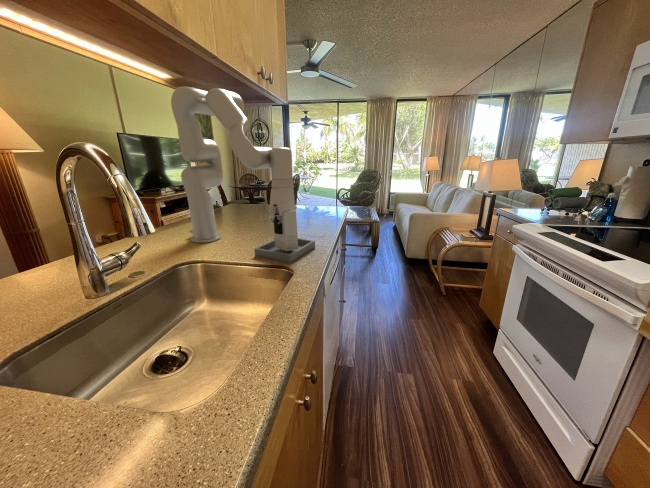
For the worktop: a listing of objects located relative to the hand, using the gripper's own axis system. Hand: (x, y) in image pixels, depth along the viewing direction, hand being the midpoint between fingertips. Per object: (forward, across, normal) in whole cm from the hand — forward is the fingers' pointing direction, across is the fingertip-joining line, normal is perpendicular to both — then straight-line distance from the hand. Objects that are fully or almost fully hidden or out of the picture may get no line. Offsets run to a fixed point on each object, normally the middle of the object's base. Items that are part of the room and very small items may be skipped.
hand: (284, 230), depth 101 cm
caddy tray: (+9, 0, 0) cm, 9 cm away
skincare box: (+7, 0, 0) cm, 7 cm away
